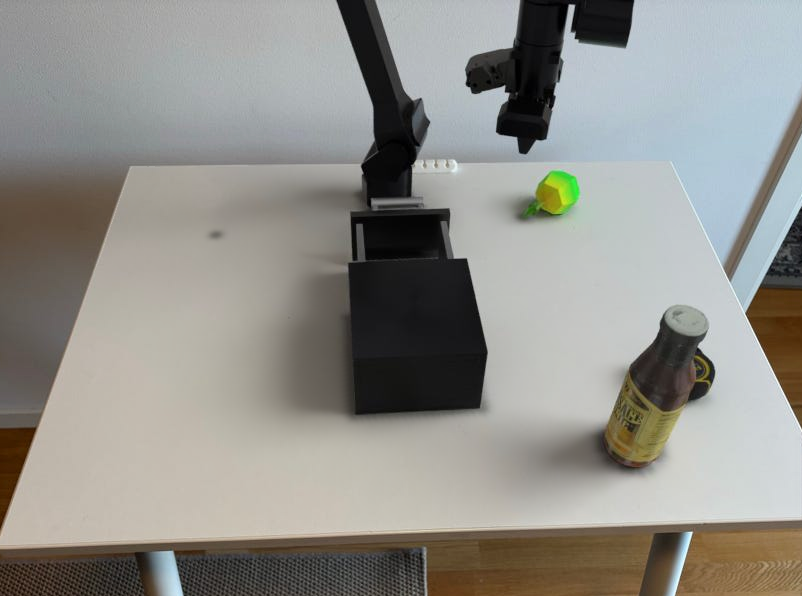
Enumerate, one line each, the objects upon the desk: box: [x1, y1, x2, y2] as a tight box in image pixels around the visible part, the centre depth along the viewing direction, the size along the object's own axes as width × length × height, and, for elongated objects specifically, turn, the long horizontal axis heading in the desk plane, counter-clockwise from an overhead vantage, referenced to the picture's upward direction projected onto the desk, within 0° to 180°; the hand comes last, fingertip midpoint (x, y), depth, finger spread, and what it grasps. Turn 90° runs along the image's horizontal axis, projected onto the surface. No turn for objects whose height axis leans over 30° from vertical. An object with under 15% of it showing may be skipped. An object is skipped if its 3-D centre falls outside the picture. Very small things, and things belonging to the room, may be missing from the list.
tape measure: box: [687, 346, 716, 402], centre depth 86 cm, size 7×7×4 cm
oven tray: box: [349, 196, 455, 262], centre depth 95 cm, size 19×13×7 cm
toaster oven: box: [347, 257, 489, 416], centre depth 86 cm, size 16×14×9 cm
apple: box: [522, 170, 581, 218], centre depth 109 cm, size 7×6×9 cm
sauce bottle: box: [603, 304, 710, 468], centre depth 74 cm, size 7×6×20 cm
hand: (523, 152), depth 100 cm, fingers closed
